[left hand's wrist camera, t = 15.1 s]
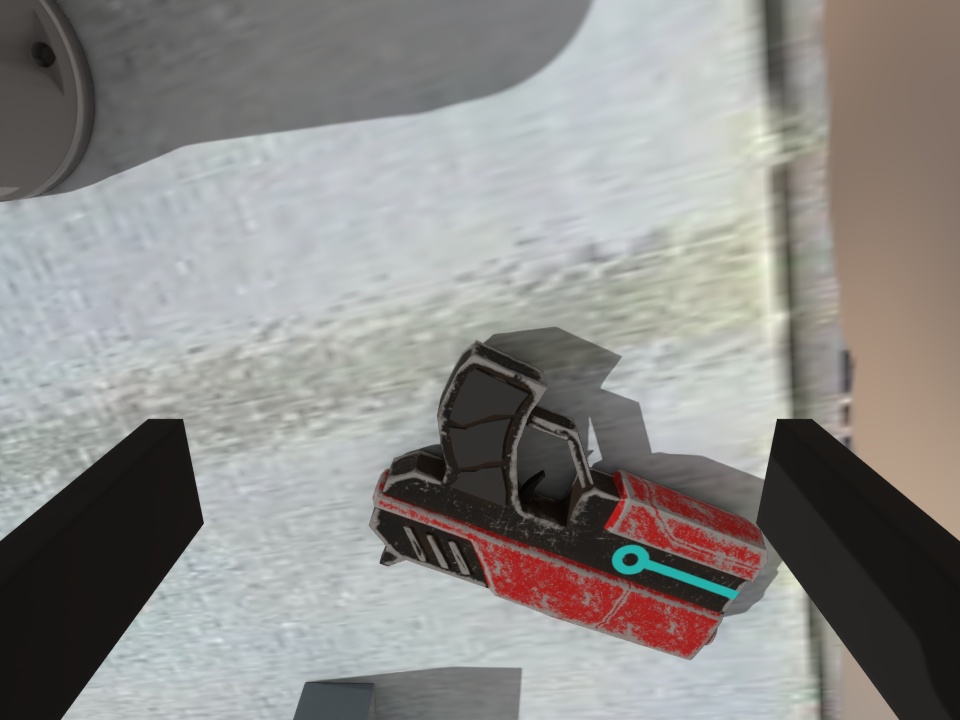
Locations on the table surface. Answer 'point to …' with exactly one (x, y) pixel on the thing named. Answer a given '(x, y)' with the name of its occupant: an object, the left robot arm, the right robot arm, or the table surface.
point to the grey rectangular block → (336, 702)
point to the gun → (560, 521)
